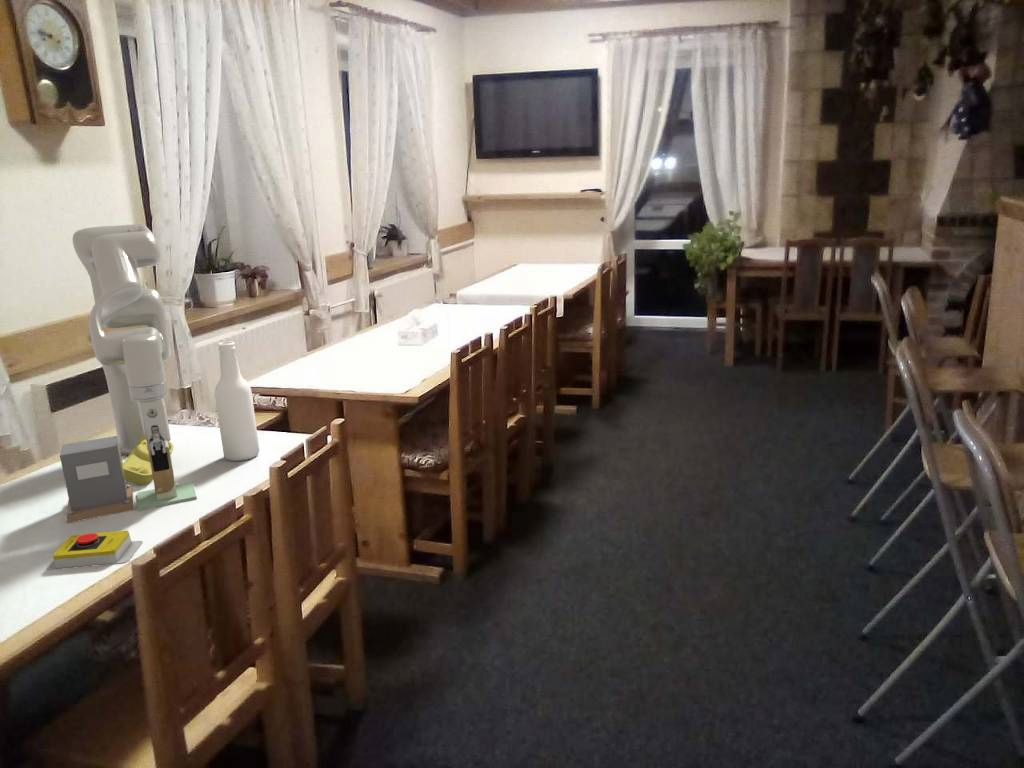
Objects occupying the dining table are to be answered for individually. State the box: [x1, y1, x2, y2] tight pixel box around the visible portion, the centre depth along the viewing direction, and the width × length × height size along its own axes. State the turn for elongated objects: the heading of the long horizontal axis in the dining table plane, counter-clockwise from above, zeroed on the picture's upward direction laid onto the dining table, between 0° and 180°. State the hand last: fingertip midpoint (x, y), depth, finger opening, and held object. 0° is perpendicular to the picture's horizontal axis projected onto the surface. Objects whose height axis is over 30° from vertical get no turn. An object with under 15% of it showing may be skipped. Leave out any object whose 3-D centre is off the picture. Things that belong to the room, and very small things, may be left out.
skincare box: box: [147, 440, 177, 500], centre depth 180 cm, size 6×4×12 cm
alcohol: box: [214, 340, 260, 462], centre depth 202 cm, size 9×9×30 cm
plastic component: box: [122, 434, 174, 486], centre depth 197 cm, size 20×7×10 cm
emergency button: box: [46, 530, 143, 571], centre depth 154 cm, size 9×4×15 cm
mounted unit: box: [59, 435, 135, 524], centre depth 176 cm, size 12×13×14 cm
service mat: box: [137, 481, 197, 511], centre depth 181 cm, size 10×12×1 cm
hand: (160, 462), depth 180 cm, fingers open, 9 cm apart
